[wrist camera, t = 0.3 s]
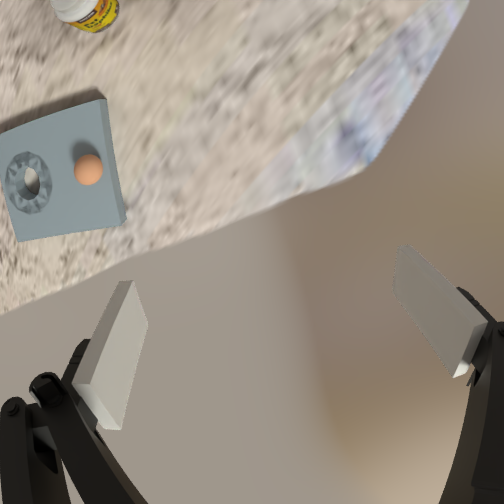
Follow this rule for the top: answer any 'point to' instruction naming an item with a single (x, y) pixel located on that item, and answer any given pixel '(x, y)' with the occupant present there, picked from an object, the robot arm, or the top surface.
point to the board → (61, 173)
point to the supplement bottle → (87, 13)
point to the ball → (88, 169)
